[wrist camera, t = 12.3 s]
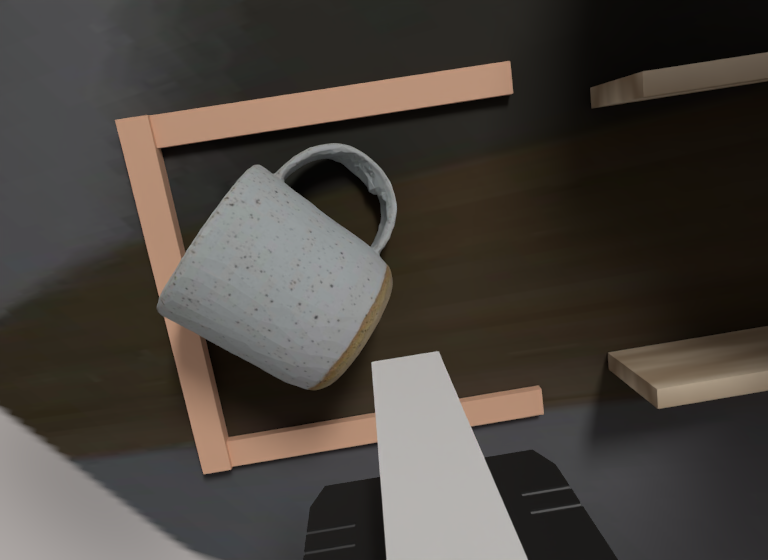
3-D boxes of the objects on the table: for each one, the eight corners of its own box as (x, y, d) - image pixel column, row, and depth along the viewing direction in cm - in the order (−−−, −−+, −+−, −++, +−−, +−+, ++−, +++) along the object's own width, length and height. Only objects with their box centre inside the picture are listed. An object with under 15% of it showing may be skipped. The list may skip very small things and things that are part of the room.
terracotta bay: (122, 121, 26) (115, 119, 25) (507, 62, 27) (511, 59, 26) (207, 466, 30) (203, 474, 29) (540, 409, 31) (545, 416, 30)
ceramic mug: (320, 368, 29) (311, 435, 22) (184, 287, 28) (126, 329, 21) (431, 201, 28) (463, 213, 21) (294, 108, 27) (275, 84, 19)
